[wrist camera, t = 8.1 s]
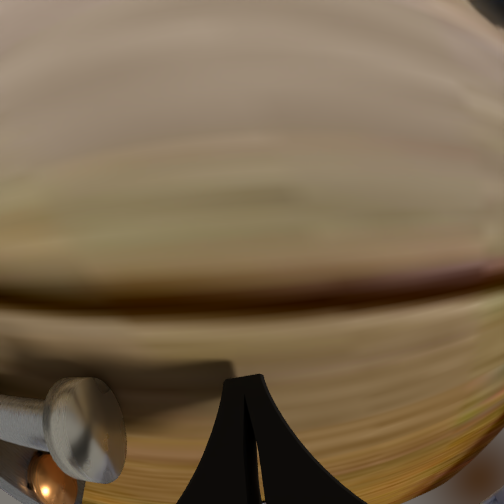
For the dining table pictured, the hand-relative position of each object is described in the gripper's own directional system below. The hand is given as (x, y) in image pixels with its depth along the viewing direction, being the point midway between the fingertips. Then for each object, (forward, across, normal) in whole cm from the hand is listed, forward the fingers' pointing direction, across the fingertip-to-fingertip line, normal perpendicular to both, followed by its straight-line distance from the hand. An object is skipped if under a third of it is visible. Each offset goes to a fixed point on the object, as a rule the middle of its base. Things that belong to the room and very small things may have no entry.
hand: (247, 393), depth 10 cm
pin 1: (+1, +12, 0) cm, 12 cm away
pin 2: (+1, +21, +8) cm, 22 cm away
